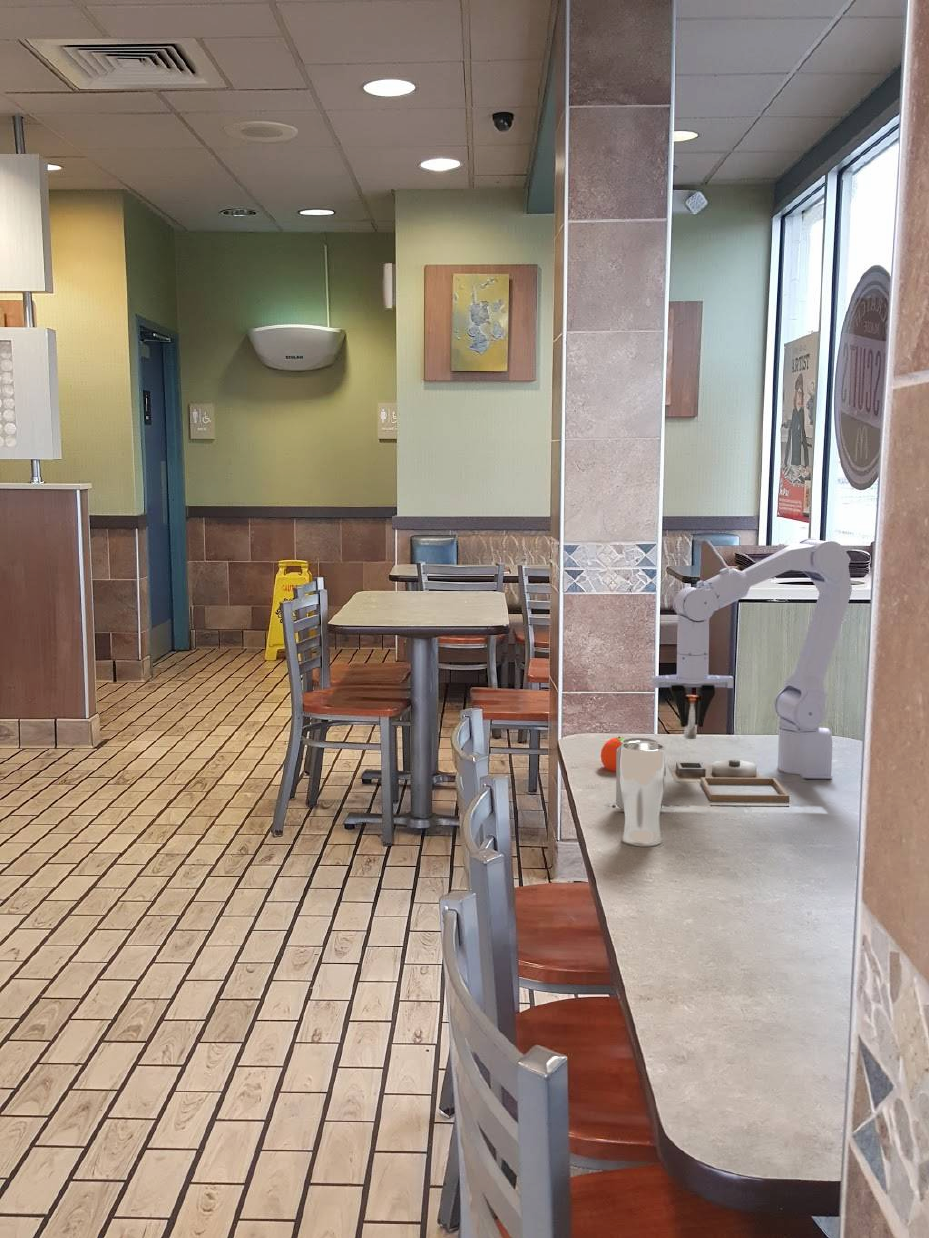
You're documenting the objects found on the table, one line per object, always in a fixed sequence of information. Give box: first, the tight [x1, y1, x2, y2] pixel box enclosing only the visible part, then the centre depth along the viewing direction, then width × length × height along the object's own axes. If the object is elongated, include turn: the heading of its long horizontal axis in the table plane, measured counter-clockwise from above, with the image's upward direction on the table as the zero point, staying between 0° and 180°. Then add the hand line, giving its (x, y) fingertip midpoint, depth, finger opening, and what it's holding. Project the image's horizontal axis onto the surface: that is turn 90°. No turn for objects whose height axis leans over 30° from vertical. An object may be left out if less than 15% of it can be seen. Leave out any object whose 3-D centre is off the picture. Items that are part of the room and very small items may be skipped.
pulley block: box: [667, 759, 763, 783], centre depth 208 cm, size 16×12×3 cm
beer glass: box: [620, 741, 667, 848], centre depth 172 cm, size 7×7×15 cm
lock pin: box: [683, 694, 700, 740], centre depth 207 cm, size 3×3×8 cm
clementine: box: [600, 736, 626, 773], centre depth 212 cm, size 8×7×7 cm
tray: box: [700, 777, 790, 808], centre depth 196 cm, size 13×11×2 cm
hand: (691, 725), depth 207 cm, fingers closed on lock pin, 2 cm apart
